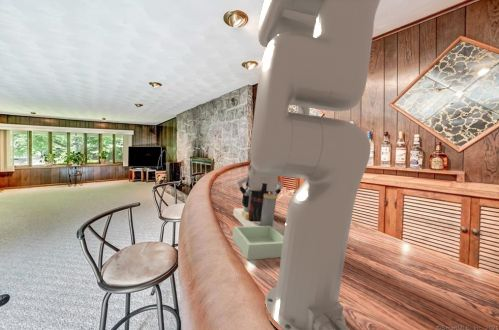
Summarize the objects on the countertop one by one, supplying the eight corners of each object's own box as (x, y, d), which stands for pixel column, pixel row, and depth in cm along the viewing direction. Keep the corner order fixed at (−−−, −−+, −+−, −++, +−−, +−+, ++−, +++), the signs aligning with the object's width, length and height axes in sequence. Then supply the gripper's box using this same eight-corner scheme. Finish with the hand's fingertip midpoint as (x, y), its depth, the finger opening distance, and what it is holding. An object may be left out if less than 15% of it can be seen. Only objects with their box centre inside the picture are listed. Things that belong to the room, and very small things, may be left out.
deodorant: (263, 228, 72) (268, 184, 71) (245, 225, 73) (251, 181, 72) (265, 223, 78) (270, 182, 77) (249, 220, 79) (254, 179, 78)
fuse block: (283, 236, 68) (289, 197, 67) (254, 237, 64) (259, 196, 63) (256, 214, 87) (260, 184, 87) (233, 214, 84) (237, 183, 83)
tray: (289, 256, 55) (291, 242, 55) (246, 259, 51) (248, 245, 50) (268, 237, 66) (270, 225, 66) (232, 238, 61) (233, 226, 61)
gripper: (244, 155, 67) (238, 209, 69) (292, 161, 74) (285, 210, 75) (237, 154, 74) (231, 203, 76) (280, 159, 81) (274, 204, 82)
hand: (258, 206), depth 75 cm, fingers open, 9 cm apart
